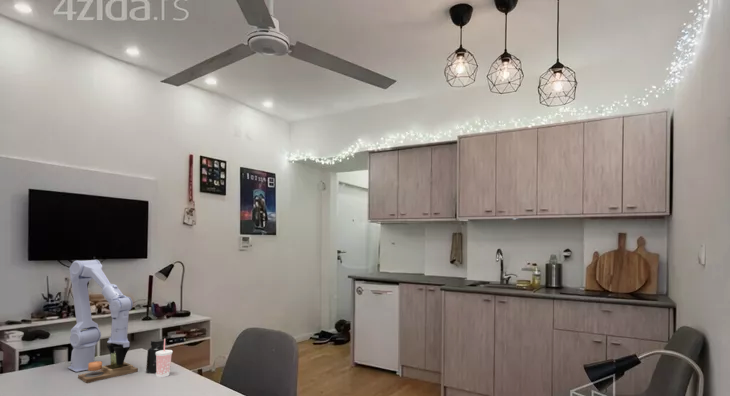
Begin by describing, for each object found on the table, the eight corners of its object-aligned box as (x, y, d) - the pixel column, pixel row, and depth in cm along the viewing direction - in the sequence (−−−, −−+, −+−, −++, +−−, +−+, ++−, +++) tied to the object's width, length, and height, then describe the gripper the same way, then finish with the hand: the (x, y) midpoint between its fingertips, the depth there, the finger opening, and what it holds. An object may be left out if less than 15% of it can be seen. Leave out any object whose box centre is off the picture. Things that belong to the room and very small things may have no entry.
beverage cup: (160, 372, 169) (162, 336, 170) (174, 373, 168) (176, 337, 169) (150, 377, 163) (152, 340, 164) (165, 378, 162) (167, 340, 163)
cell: (108, 368, 168) (109, 351, 168) (120, 365, 171) (120, 348, 171) (112, 370, 165) (112, 353, 166) (123, 367, 168) (123, 350, 169)
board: (77, 378, 161) (78, 370, 162) (127, 367, 175) (128, 360, 176) (86, 383, 156) (87, 375, 156) (137, 371, 170) (138, 364, 170)
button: (86, 369, 162) (86, 363, 162) (98, 366, 165) (99, 360, 165) (90, 371, 159) (91, 365, 159) (103, 369, 162) (104, 362, 163)
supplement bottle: (157, 374, 167) (159, 342, 168) (142, 372, 168) (143, 341, 170) (168, 368, 174) (170, 338, 175) (153, 367, 175) (155, 338, 176)
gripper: (101, 327, 171) (99, 362, 170) (116, 332, 162) (114, 369, 161) (120, 324, 177) (117, 358, 175) (135, 329, 168) (133, 364, 166)
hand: (117, 363), depth 168 cm, fingers closed on cell, 4 cm apart
